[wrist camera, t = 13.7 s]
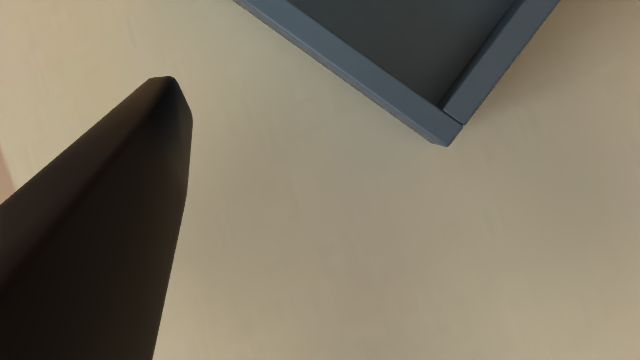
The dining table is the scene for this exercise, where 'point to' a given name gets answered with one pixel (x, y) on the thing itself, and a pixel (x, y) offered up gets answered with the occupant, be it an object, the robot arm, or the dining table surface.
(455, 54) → the tub
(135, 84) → the dining table surface
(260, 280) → the dining table surface
